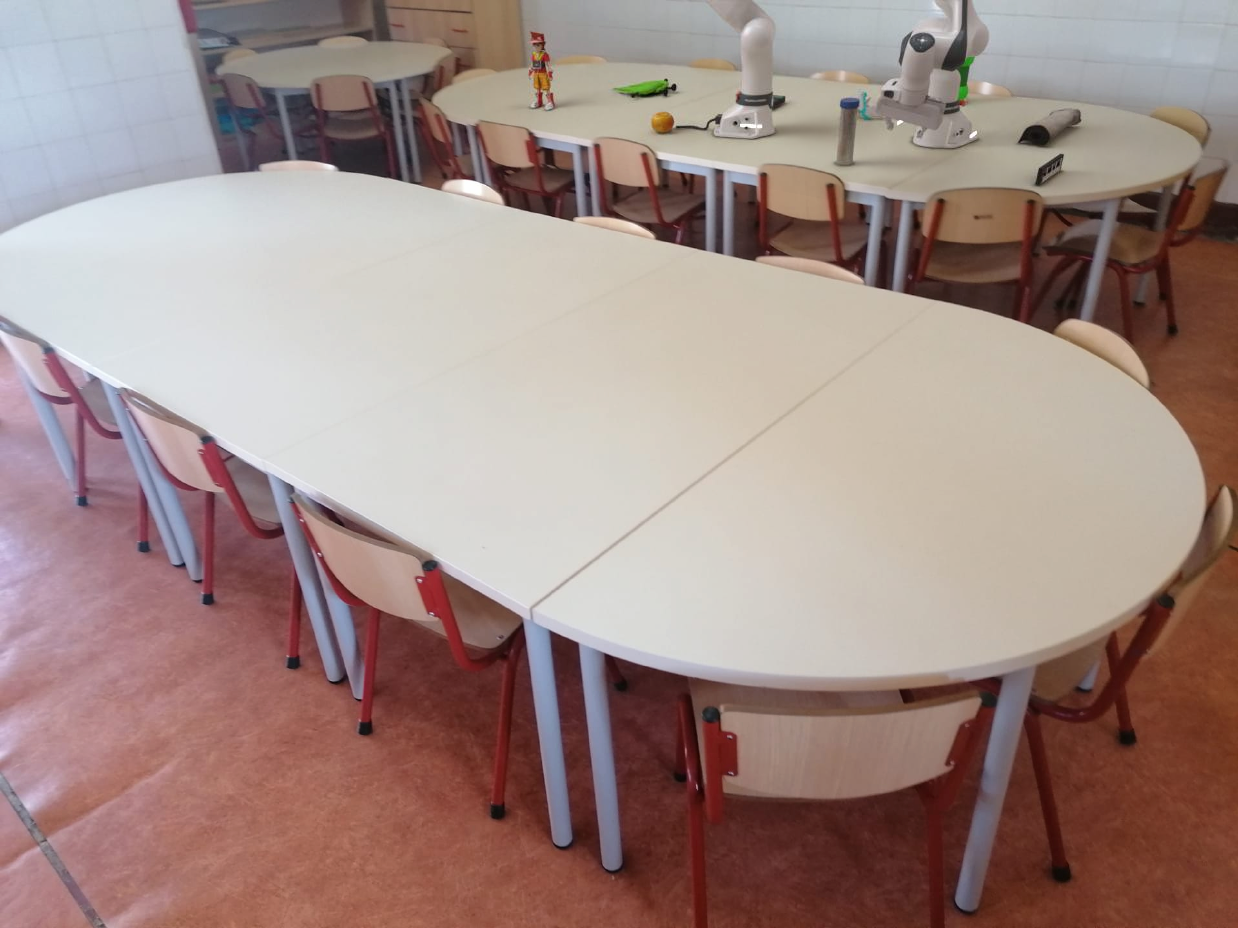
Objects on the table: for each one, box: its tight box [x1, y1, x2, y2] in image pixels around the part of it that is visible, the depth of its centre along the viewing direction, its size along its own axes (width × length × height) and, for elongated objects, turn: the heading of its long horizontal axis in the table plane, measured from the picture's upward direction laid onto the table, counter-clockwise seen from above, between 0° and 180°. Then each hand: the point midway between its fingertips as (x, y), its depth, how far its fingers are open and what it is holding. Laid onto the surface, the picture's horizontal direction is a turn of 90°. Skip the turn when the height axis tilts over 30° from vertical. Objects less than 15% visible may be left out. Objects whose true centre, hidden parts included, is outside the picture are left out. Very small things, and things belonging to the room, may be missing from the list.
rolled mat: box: [1017, 107, 1082, 147], centre depth 310 cm, size 30×9×10 cm
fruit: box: [650, 111, 675, 133], centre depth 339 cm, size 8×8×8 cm
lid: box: [839, 97, 860, 109], centre depth 287 cm, size 6×6×2 cm
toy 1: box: [527, 31, 556, 111], centre depth 374 cm, size 12×9×30 cm
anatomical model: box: [850, 88, 884, 120], centre depth 343 cm, size 15×10×10 cm
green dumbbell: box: [957, 56, 976, 100], centre depth 348 cm, size 10×10×25 cm
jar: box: [836, 107, 859, 166], centre depth 292 cm, size 5×5×20 cm
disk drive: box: [772, 94, 786, 110], centre depth 364 cm, size 10×3×15 cm
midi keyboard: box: [1035, 153, 1065, 186], centre depth 273 cm, size 18×1×5 cm, turn 138°
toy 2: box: [612, 78, 677, 99], centre depth 396 cm, size 28×5×30 cm
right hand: (904, 133), depth 273 cm, fingers open, 8 cm apart
